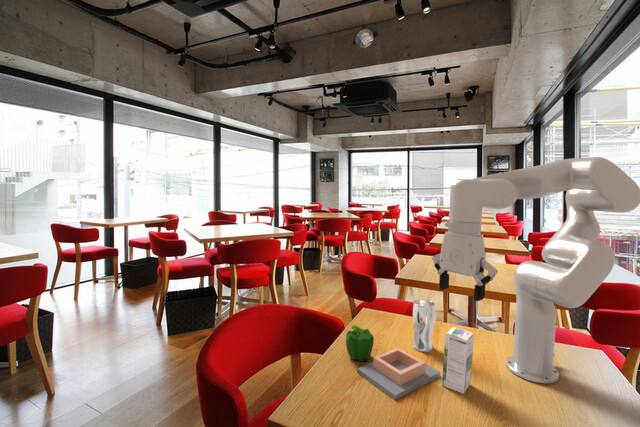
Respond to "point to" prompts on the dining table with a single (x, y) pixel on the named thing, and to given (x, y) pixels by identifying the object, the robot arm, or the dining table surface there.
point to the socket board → (398, 372)
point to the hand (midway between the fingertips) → (460, 294)
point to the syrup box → (457, 359)
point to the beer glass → (423, 324)
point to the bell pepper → (359, 343)
